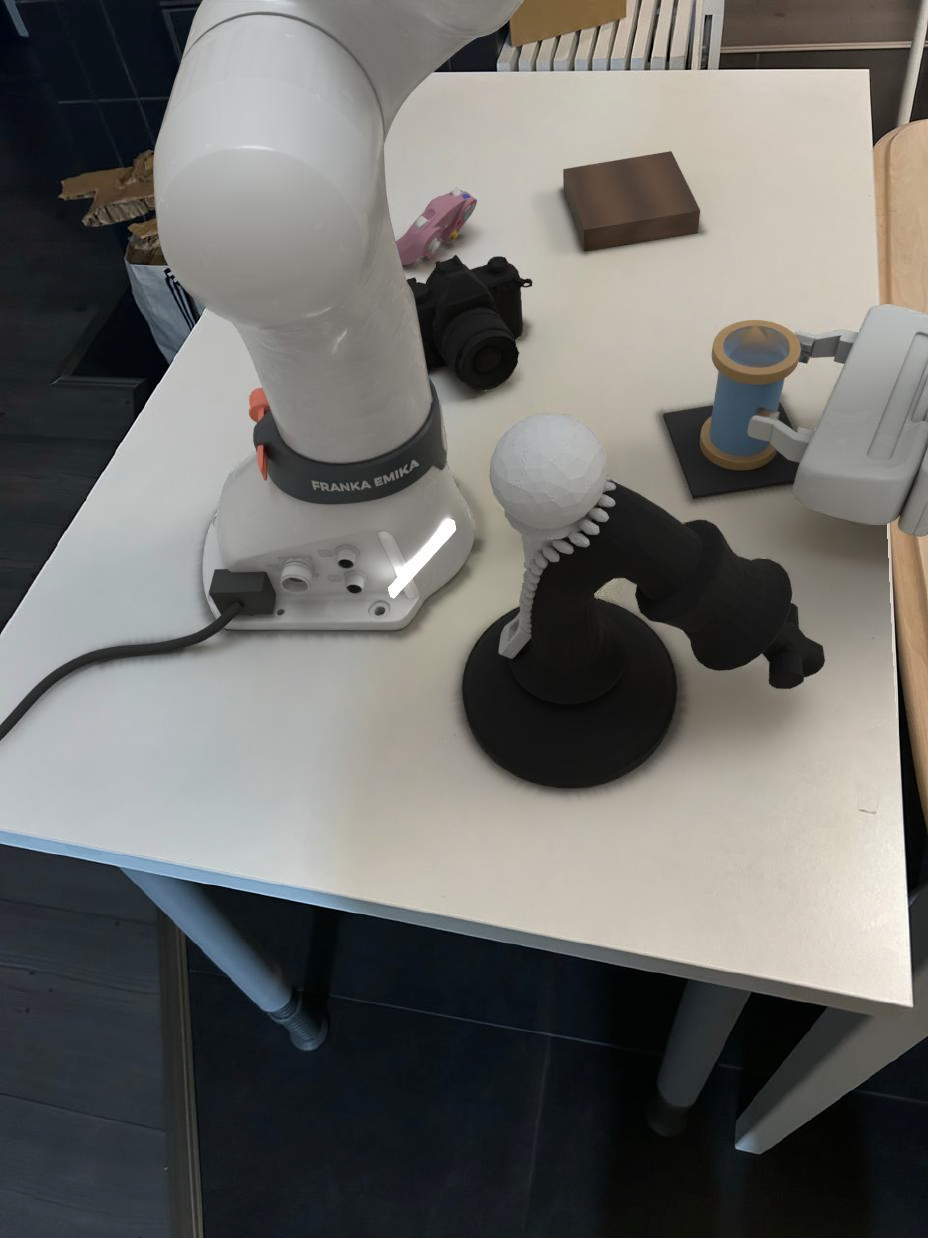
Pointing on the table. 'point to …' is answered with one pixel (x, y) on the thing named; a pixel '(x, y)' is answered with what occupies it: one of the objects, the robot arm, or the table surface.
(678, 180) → the platform
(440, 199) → the pink toy car
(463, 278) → the film camera
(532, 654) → the sculpture
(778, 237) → the table surface
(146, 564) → the table surface
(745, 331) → the spool
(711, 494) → the coaster
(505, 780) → the table surface
